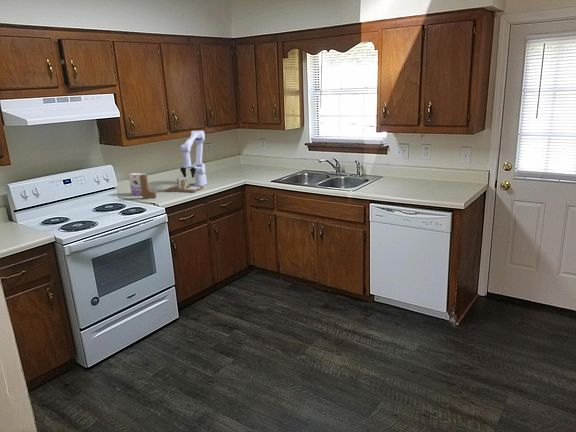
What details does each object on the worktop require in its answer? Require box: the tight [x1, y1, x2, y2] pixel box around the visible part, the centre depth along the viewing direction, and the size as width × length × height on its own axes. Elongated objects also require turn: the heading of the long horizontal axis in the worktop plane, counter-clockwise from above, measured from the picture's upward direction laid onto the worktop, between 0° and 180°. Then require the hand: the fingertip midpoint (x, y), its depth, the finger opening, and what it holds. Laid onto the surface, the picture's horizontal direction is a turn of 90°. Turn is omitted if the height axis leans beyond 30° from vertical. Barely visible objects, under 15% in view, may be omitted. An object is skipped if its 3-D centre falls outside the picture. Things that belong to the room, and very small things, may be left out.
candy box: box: [128, 172, 144, 196], centre depth 350 cm, size 14×6×16 cm, turn 59°
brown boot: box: [139, 173, 157, 200], centre depth 336 cm, size 9×4×18 cm, turn 95°
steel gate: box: [176, 174, 190, 189], centre depth 356 cm, size 12×2×9 cm, turn 158°
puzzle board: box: [164, 185, 204, 194], centre depth 358 cm, size 14×27×2 cm, turn 68°
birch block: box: [180, 179, 187, 189], centre depth 357 cm, size 4×4×8 cm
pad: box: [186, 187, 200, 190], centre depth 354 cm, size 8×8×1 cm
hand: (189, 177), depth 353 cm, fingers open, 7 cm apart
